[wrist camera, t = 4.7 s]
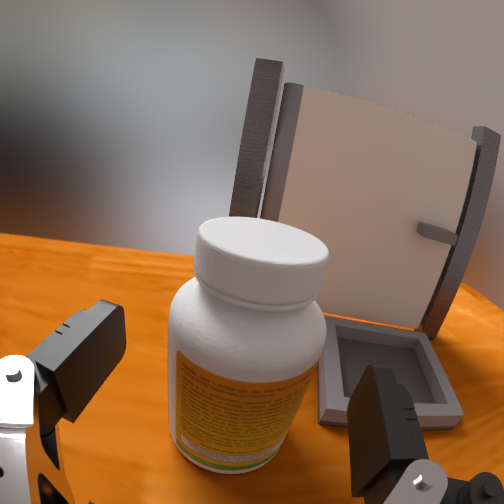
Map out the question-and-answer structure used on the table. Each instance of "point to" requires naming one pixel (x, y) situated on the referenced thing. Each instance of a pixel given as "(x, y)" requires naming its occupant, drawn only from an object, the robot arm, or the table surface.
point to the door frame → (255, 163)
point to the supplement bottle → (244, 341)
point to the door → (369, 199)
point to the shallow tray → (387, 355)
